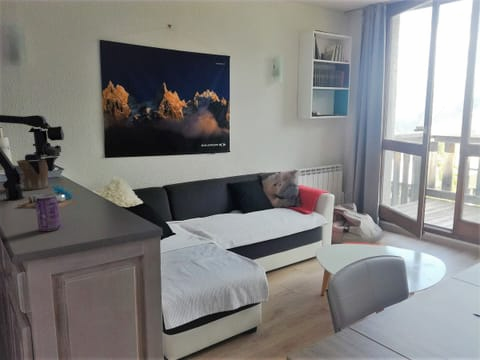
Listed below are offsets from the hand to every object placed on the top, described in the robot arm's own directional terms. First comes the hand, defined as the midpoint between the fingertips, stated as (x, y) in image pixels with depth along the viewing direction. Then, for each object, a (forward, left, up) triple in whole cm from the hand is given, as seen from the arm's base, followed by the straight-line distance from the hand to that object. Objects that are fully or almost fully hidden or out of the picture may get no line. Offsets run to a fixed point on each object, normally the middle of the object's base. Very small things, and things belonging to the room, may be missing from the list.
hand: (45, 172), depth 197 cm
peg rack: (+12, -18, -12) cm, 25 cm away
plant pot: (-23, +22, -12) cm, 34 cm away
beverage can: (+40, -54, -12) cm, 68 cm away
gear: (+13, -7, -12) cm, 19 cm away
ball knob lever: (+14, -18, -11) cm, 25 cm away
